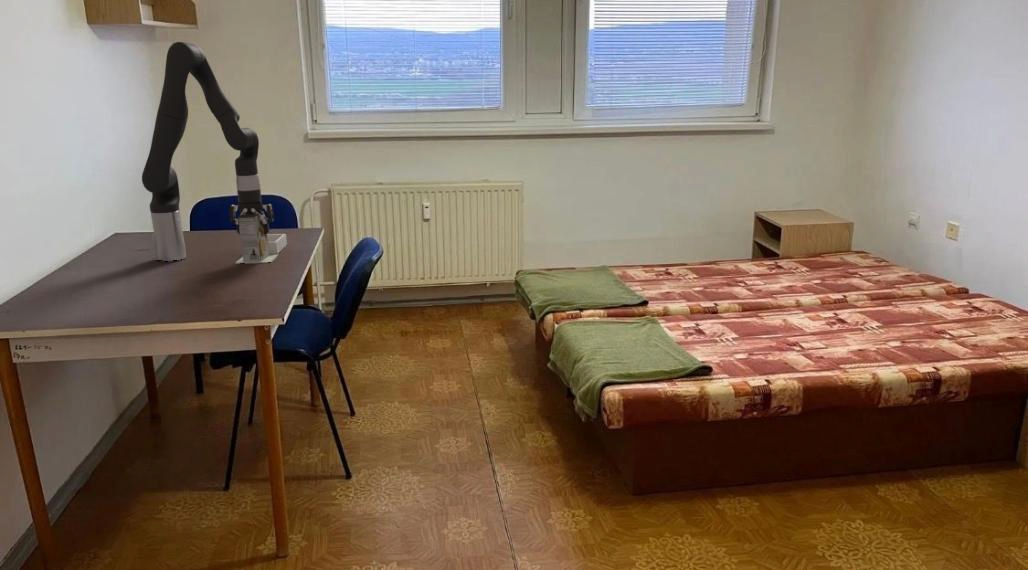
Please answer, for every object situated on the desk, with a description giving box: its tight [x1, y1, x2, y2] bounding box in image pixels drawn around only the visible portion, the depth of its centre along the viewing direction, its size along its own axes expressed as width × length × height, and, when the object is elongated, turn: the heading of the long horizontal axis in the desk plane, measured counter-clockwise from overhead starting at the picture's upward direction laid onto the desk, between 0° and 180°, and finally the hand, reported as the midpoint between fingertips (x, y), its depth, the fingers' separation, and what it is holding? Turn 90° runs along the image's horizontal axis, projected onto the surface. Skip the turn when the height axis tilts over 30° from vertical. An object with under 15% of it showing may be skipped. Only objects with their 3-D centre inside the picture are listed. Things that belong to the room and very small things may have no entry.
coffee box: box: [237, 210, 270, 262], centre depth 254 cm, size 9×6×16 cm
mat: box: [235, 254, 279, 265], centre depth 256 cm, size 12×10×1 cm
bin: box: [267, 233, 288, 255], centre depth 269 cm, size 11×14×4 cm
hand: (253, 234), depth 253 cm, fingers open, 8 cm apart
